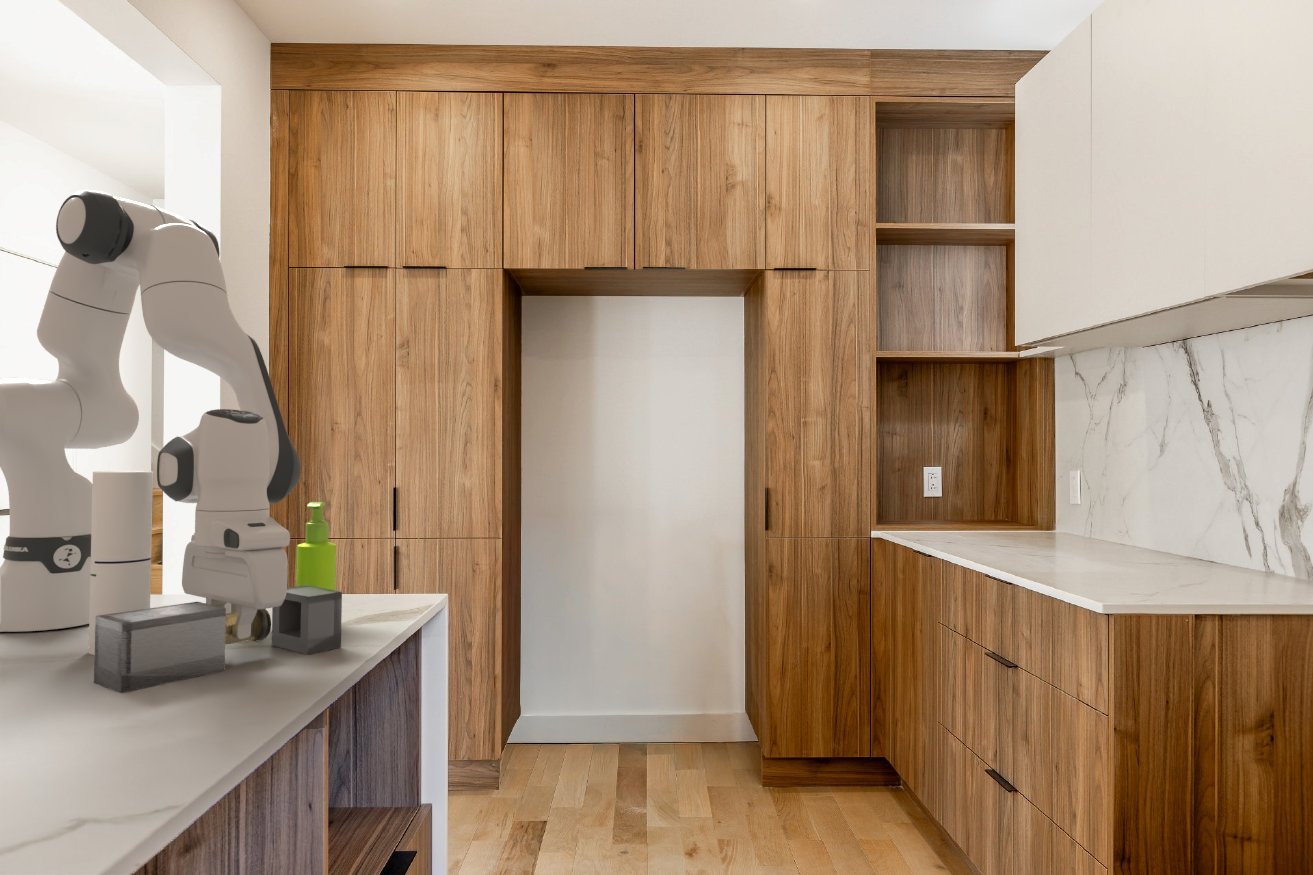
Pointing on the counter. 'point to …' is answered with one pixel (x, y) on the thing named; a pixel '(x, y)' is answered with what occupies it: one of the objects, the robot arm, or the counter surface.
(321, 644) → the dark socket block
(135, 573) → the cylindrical container
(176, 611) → the grey sleeve
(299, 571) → the soap dispenser
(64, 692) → the counter surface
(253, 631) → the brass slip tube
